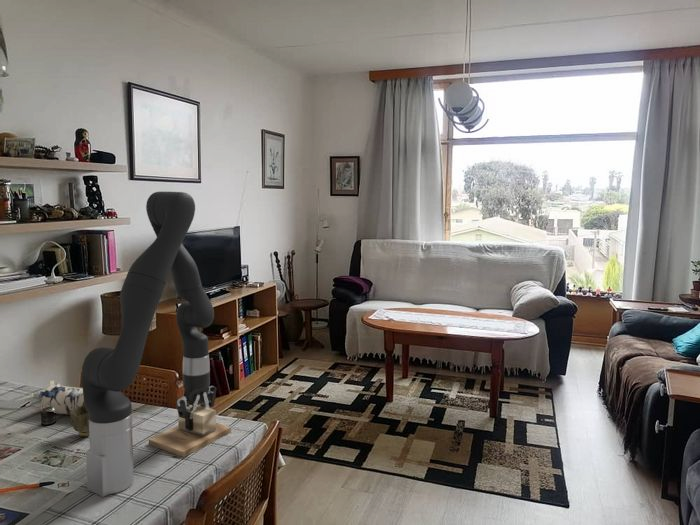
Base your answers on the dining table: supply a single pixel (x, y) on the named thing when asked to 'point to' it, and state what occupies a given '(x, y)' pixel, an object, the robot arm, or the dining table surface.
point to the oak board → (186, 440)
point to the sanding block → (201, 421)
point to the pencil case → (62, 397)
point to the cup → (80, 420)
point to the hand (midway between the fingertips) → (197, 426)
